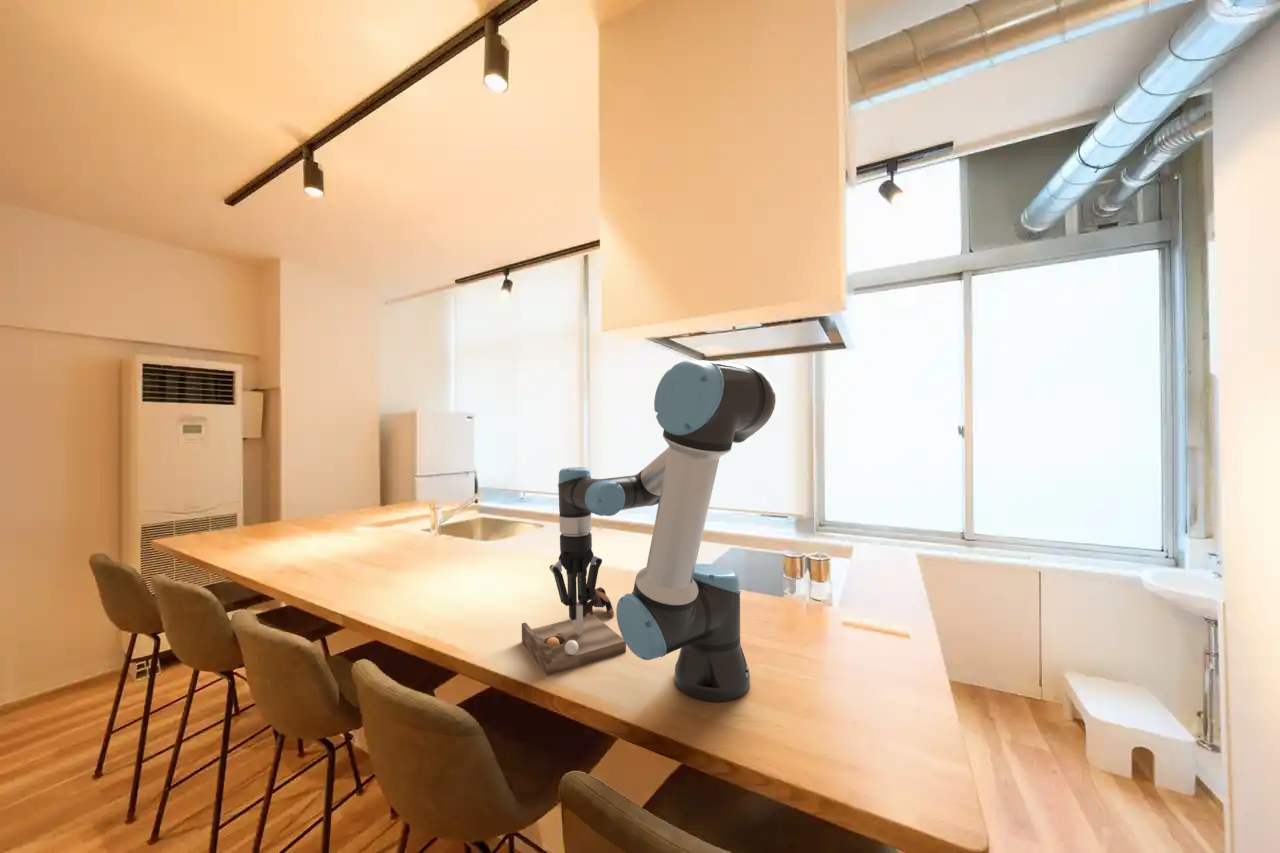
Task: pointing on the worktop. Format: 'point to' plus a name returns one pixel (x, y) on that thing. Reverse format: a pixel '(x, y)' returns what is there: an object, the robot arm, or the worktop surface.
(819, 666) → the worktop surface
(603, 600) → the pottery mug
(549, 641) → the ball
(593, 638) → the deck
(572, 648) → the cream ball
